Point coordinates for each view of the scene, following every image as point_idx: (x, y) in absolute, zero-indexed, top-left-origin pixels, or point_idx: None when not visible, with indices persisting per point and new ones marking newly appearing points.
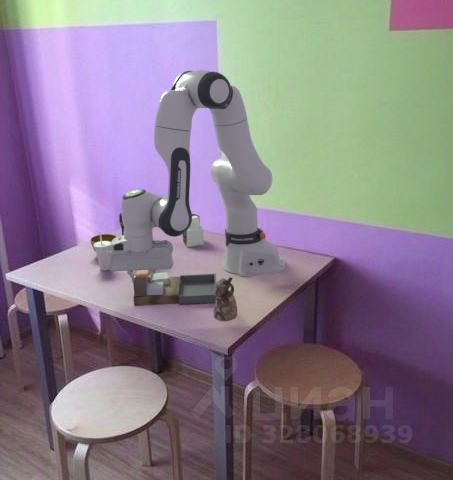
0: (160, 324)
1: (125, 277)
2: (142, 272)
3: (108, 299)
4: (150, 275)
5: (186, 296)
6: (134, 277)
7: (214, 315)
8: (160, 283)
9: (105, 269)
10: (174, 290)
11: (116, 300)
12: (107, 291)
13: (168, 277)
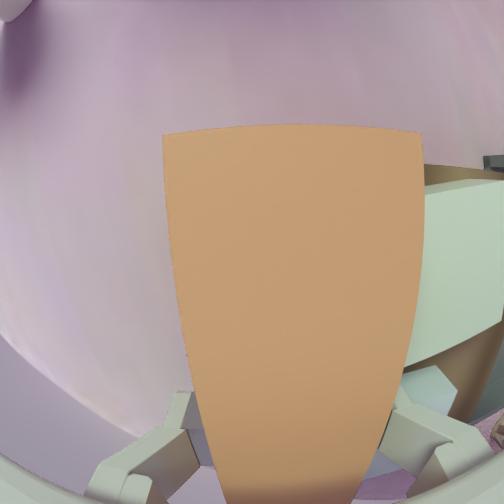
0: (355, 495)
1: (93, 42)
2: (301, 463)
3: (79, 354)
4: (391, 437)
5: (487, 415)
6: (201, 456)
7: (495, 434)
8: None
9: (15, 14)
10: (472, 385)
11: (122, 373)
12: (35, 255)
13: (475, 178)
